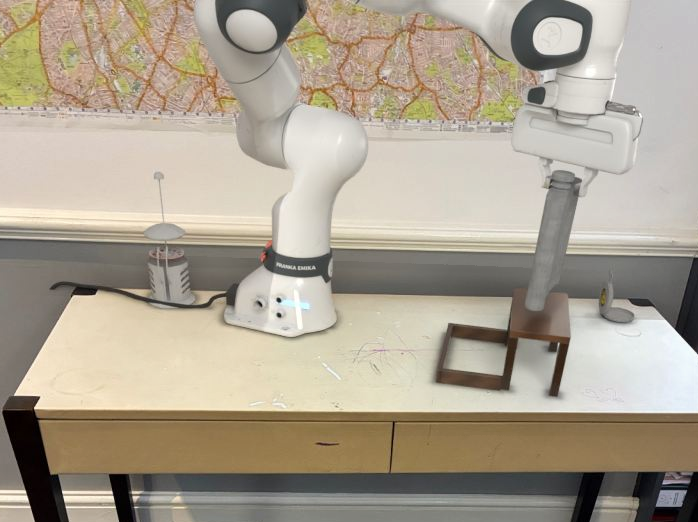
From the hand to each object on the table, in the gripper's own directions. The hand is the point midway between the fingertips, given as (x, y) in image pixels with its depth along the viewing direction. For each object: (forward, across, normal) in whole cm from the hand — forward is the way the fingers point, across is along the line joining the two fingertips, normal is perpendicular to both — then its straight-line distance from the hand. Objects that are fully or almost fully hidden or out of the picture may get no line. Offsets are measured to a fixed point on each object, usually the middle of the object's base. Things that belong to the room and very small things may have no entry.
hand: (563, 192), depth 126 cm
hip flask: (+17, 0, 0) cm, 17 cm away
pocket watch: (+32, 0, -34) cm, 46 cm away
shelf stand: (+31, +4, +2) cm, 32 cm away
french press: (+32, +69, +28) cm, 81 cm away
